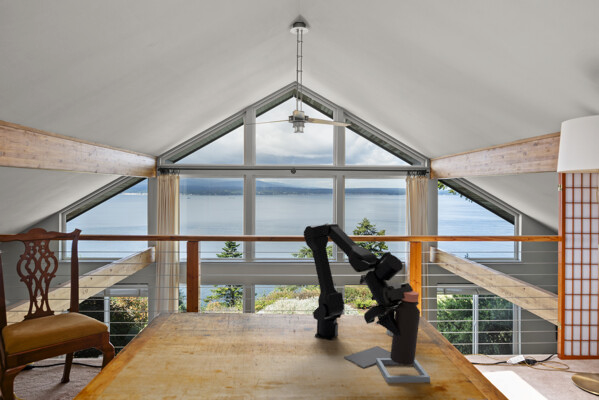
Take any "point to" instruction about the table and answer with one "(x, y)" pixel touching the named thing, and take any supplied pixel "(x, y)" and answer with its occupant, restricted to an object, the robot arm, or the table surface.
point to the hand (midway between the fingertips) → (407, 336)
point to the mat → (368, 356)
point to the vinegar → (406, 329)
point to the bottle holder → (402, 378)
